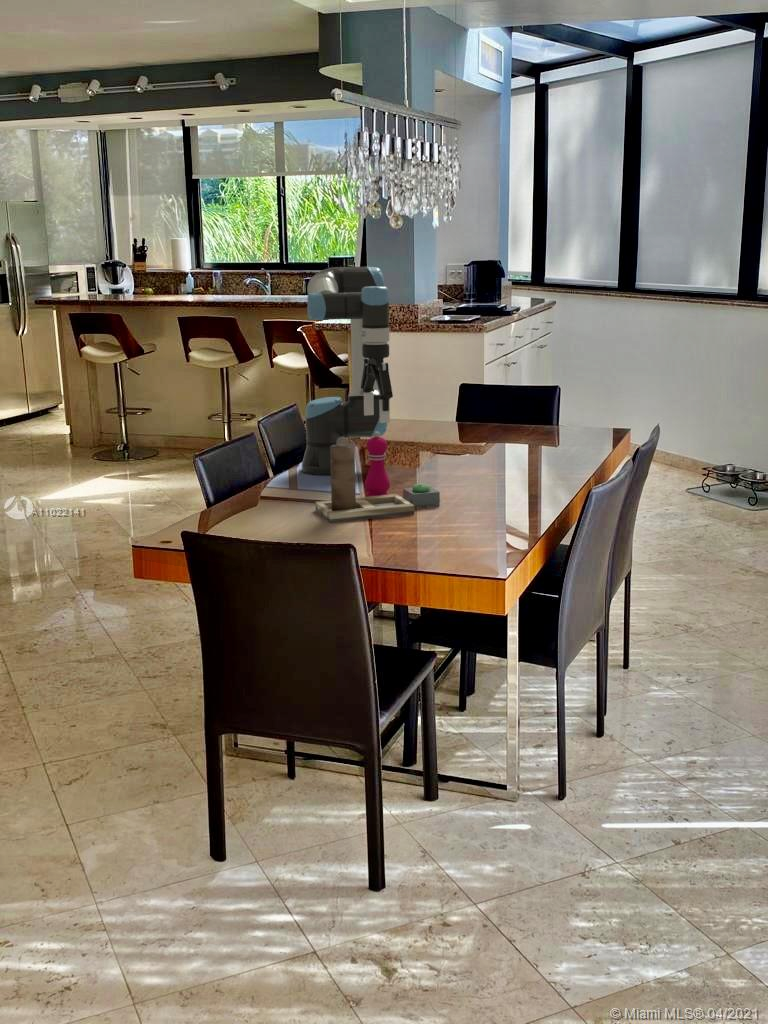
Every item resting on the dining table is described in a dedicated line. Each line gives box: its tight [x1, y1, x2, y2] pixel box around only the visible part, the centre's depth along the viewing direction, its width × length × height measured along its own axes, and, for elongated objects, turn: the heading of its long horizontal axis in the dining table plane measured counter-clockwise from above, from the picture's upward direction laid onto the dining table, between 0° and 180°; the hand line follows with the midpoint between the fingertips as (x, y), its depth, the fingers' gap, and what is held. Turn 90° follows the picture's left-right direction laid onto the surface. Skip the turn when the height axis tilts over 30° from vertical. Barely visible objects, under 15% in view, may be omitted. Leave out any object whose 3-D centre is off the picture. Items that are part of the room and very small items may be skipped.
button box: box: [402, 486, 441, 509], centre depth 301 cm, size 8×8×4 cm
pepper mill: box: [364, 432, 391, 497], centre depth 304 cm, size 7×7×20 cm
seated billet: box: [330, 437, 357, 511], centre depth 289 cm, size 7×7×21 cm
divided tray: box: [315, 493, 415, 524], centre depth 293 cm, size 14×24×2 cm, turn 110°
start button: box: [412, 483, 431, 492], centre depth 301 cm, size 5×5×4 cm
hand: (376, 418), depth 301 cm, fingers open, 13 cm apart
